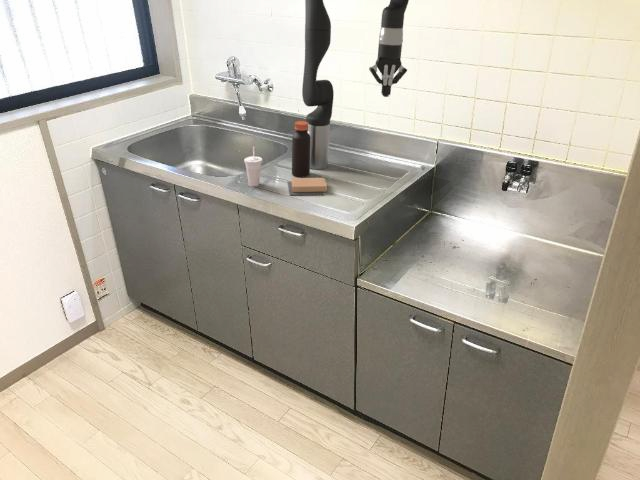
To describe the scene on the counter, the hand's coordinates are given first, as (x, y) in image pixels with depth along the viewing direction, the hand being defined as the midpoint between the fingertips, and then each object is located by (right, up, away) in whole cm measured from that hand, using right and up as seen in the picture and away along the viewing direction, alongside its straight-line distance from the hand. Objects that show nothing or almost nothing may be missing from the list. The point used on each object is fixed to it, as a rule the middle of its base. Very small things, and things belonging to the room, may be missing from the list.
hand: (385, 96), depth 180 cm
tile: (-20, -29, +11) cm, 37 cm away
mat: (-27, -30, +11) cm, 42 cm away
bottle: (-30, -24, +24) cm, 45 cm away
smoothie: (-46, -29, +13) cm, 56 cm away
